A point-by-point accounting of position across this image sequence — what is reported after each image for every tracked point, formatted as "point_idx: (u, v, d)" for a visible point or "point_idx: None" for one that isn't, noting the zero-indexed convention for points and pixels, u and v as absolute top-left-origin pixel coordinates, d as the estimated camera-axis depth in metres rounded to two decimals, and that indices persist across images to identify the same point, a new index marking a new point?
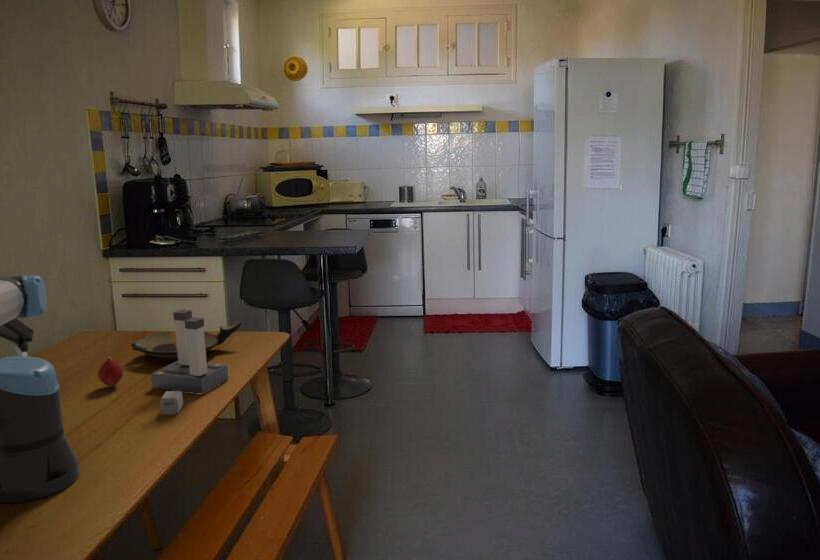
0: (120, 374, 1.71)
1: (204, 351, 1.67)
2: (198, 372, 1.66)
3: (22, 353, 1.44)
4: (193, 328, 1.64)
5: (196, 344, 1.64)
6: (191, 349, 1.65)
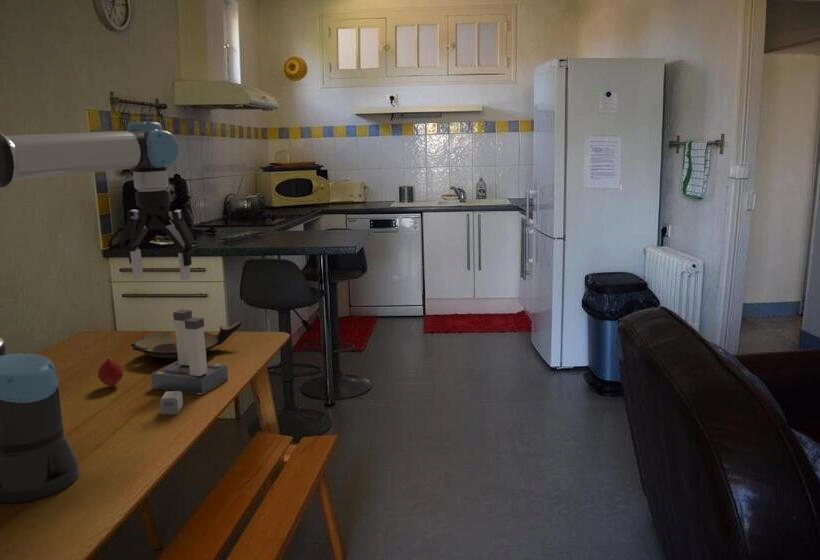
0: (120, 374, 1.71)
1: (204, 351, 1.67)
2: (198, 372, 1.66)
3: (183, 267, 1.58)
4: (193, 328, 1.64)
5: (196, 344, 1.64)
6: (191, 349, 1.65)
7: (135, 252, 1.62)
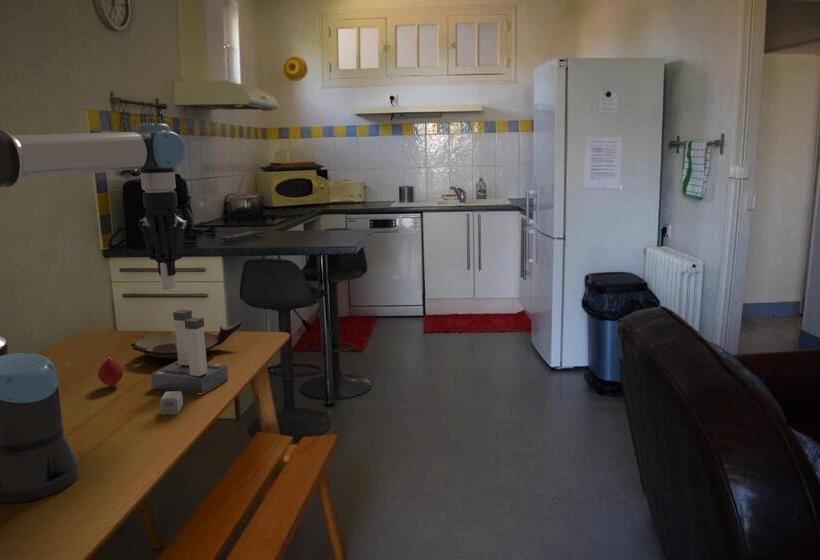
0: (120, 374, 1.71)
1: (204, 351, 1.67)
2: (198, 372, 1.66)
3: (167, 277, 1.61)
4: (193, 328, 1.64)
5: (196, 344, 1.64)
6: (191, 349, 1.65)
7: None
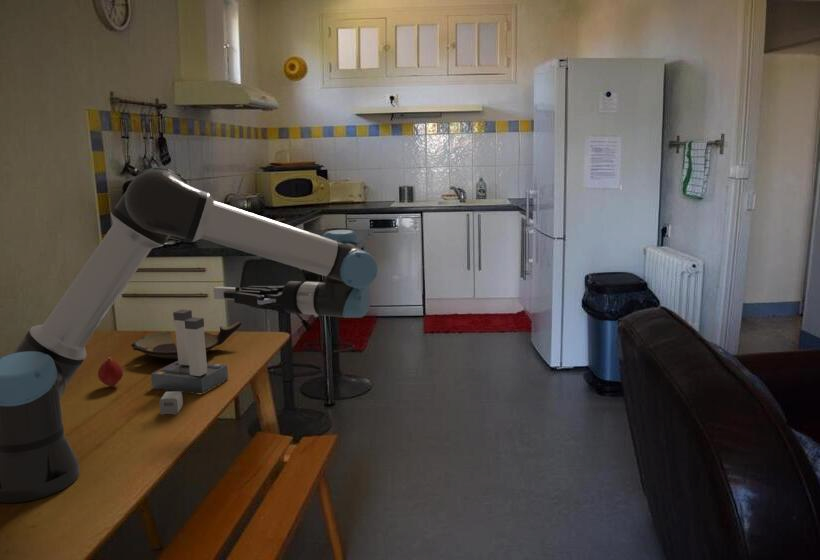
0: (120, 374, 1.71)
1: (204, 351, 1.67)
2: (198, 372, 1.66)
3: (224, 290, 1.60)
4: (193, 328, 1.64)
5: (196, 344, 1.64)
6: (191, 349, 1.65)
7: None
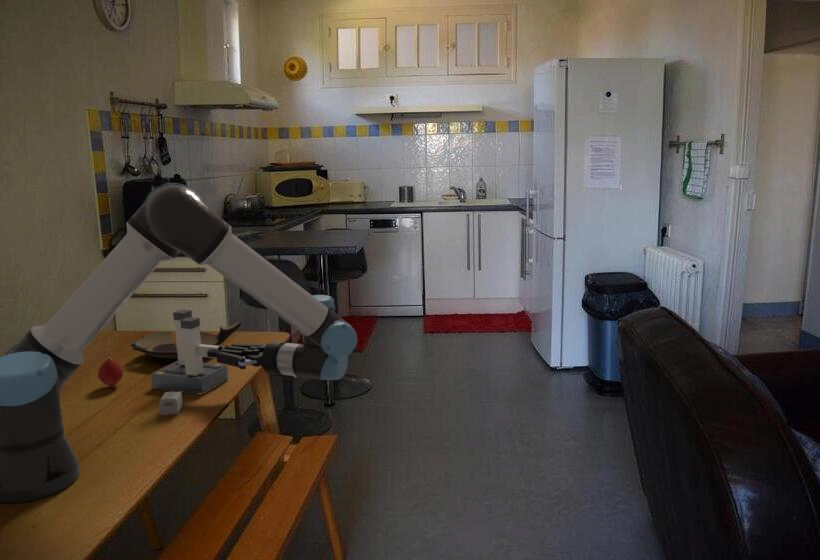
0: (120, 374, 1.71)
1: None
2: (194, 371, 1.66)
3: (208, 349, 1.65)
4: (189, 328, 1.64)
5: (192, 343, 1.65)
6: (187, 348, 1.66)
7: None
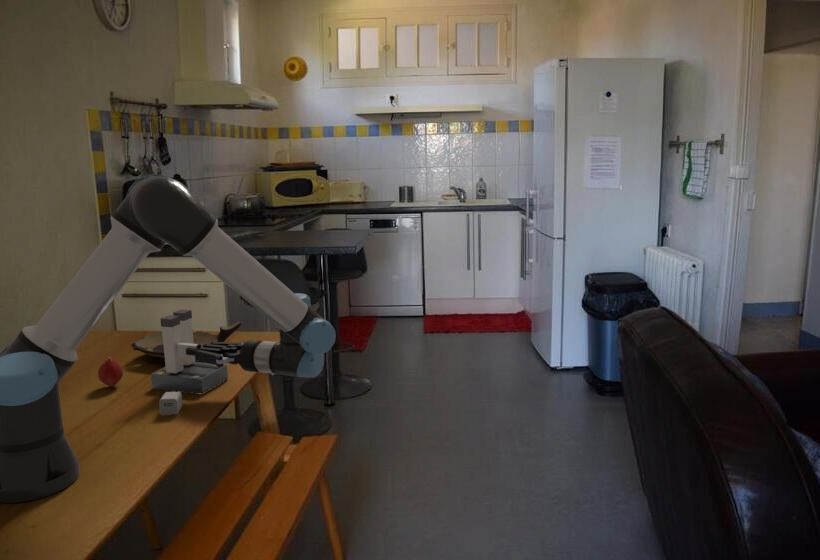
0: (120, 374, 1.71)
1: None
2: (174, 369, 1.68)
3: (186, 347, 1.67)
4: (169, 326, 1.66)
5: (172, 341, 1.67)
6: (167, 346, 1.68)
7: None
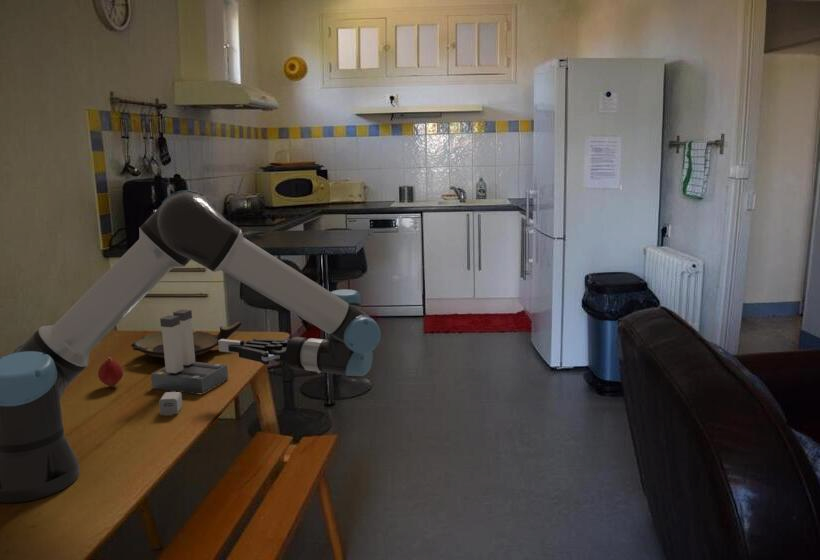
0: (120, 374, 1.71)
1: (180, 349, 1.70)
2: (174, 369, 1.68)
3: (229, 343, 1.62)
4: (168, 326, 1.66)
5: (171, 341, 1.67)
6: (167, 346, 1.68)
7: None
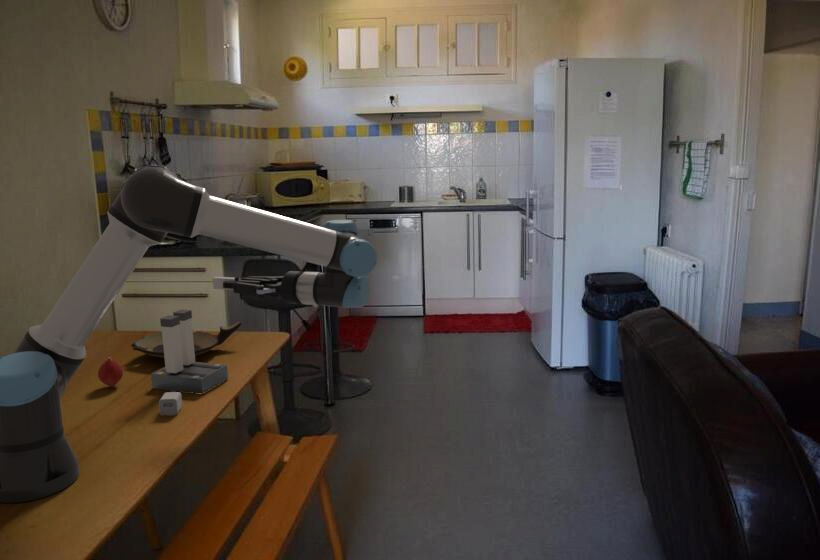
0: (120, 374, 1.71)
1: (180, 349, 1.70)
2: (174, 369, 1.68)
3: (223, 280, 1.59)
4: (168, 326, 1.66)
5: (171, 341, 1.67)
6: (167, 346, 1.68)
7: None
